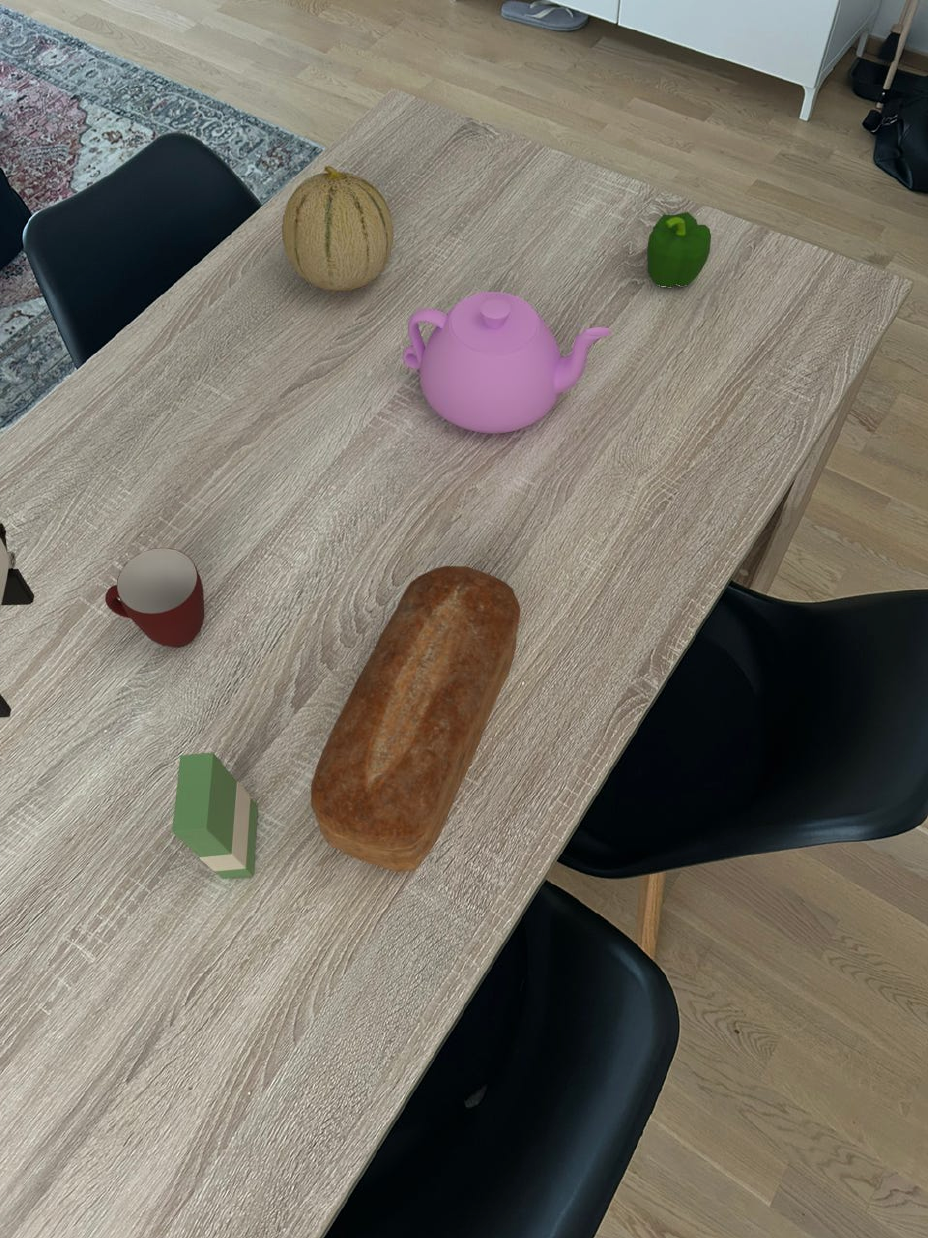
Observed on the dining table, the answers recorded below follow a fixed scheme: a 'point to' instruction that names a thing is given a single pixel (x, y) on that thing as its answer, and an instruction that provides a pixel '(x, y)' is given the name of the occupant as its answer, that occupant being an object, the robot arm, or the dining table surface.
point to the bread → (416, 718)
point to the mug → (160, 596)
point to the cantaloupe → (337, 231)
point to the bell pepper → (677, 250)
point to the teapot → (493, 362)
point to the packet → (215, 816)
